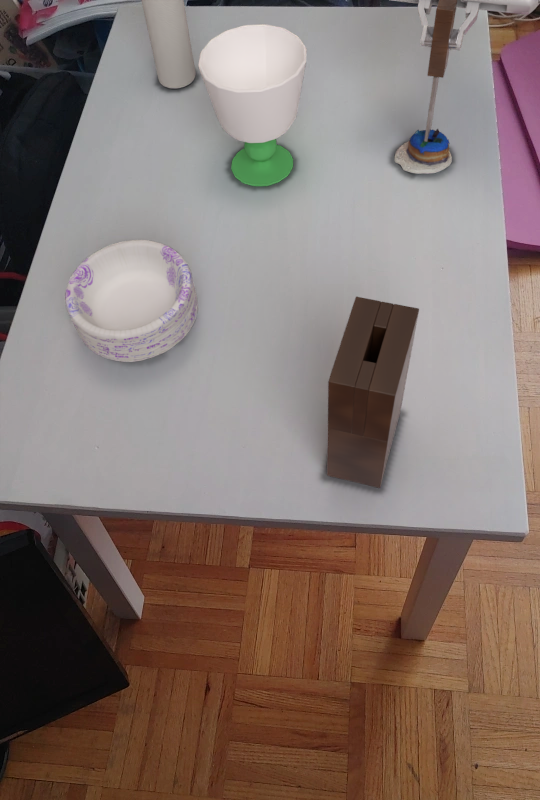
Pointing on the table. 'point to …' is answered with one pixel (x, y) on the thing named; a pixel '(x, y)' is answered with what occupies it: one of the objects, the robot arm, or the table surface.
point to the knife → (439, 51)
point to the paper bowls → (132, 300)
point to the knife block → (368, 389)
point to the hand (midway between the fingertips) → (439, 47)
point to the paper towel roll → (170, 41)
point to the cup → (256, 95)
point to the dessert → (424, 153)
